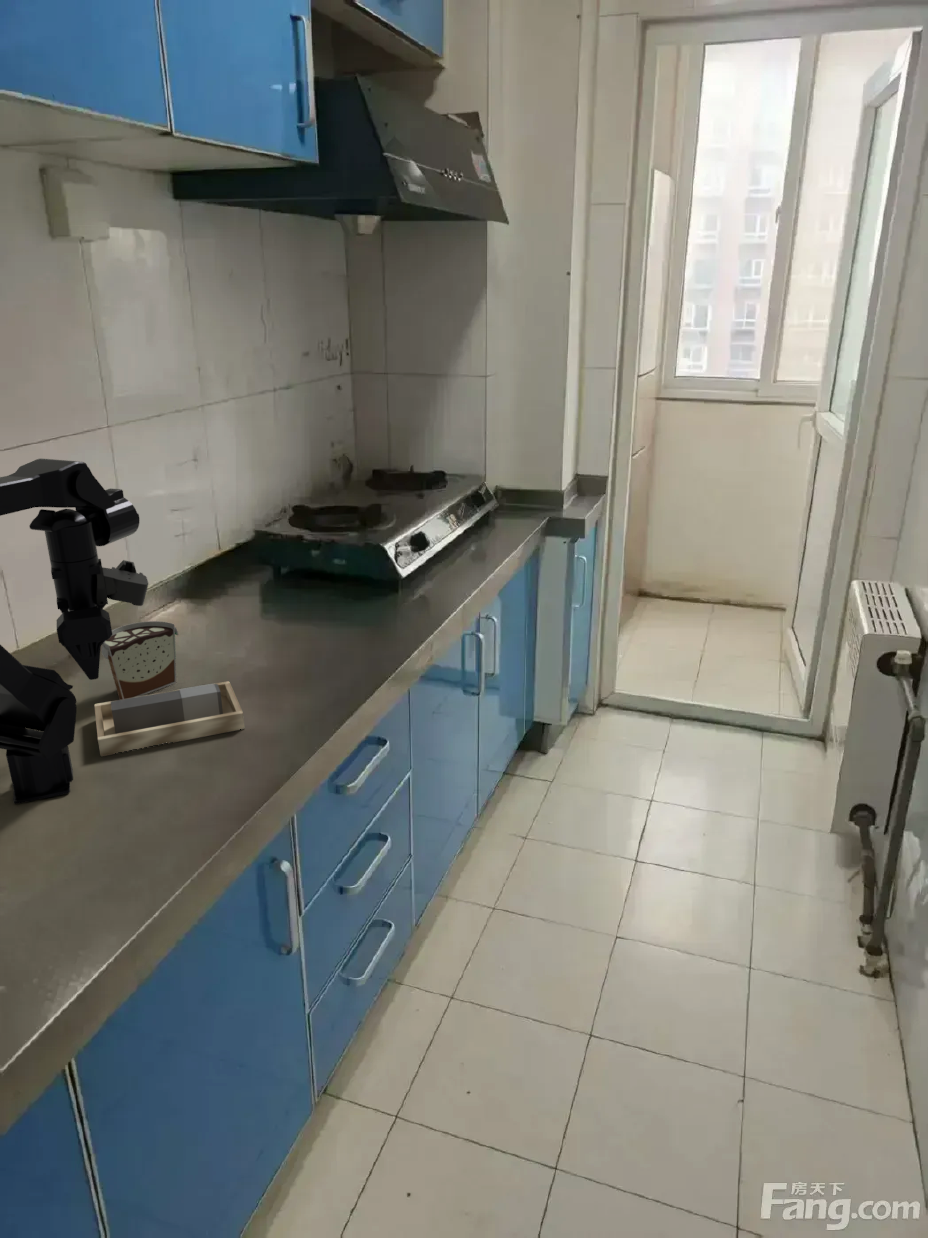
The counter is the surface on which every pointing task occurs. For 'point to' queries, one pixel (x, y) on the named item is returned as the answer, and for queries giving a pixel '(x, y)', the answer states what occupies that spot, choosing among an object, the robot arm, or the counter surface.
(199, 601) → the counter surface
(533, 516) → the counter surface
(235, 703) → the tray
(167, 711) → the tall gray brick
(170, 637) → the food container
